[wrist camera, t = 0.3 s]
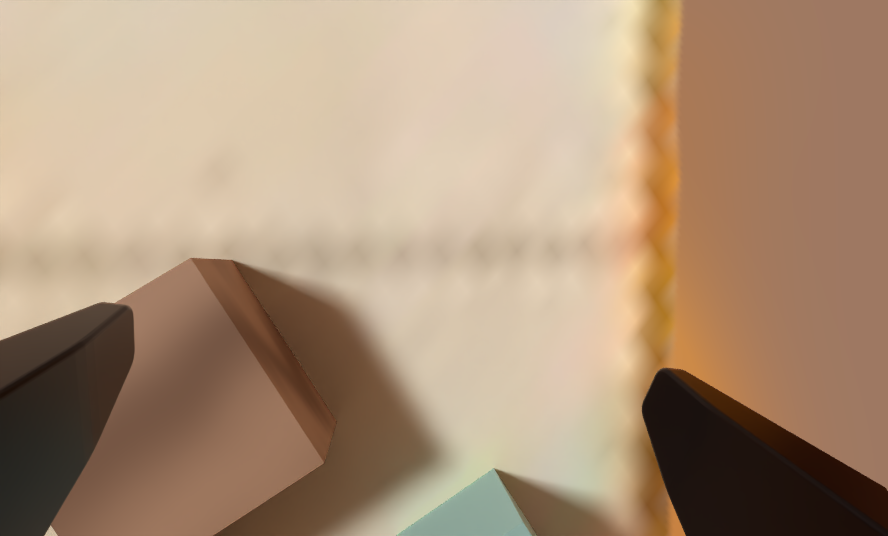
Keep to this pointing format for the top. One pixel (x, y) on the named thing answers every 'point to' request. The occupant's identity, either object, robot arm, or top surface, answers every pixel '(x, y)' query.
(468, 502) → the teal cube
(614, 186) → the top surface
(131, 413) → the walnut block
